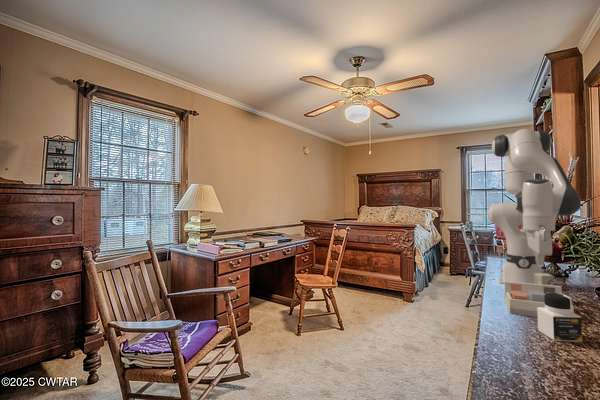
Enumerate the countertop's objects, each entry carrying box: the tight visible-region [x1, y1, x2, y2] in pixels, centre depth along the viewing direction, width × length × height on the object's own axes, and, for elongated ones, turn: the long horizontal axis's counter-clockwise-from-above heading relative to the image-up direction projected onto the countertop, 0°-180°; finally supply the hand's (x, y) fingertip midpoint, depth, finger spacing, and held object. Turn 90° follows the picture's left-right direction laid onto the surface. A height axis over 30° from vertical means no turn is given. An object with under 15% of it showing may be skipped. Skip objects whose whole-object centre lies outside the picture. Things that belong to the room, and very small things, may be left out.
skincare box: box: [534, 272, 555, 286], centre depth 118 cm, size 5×4×10 cm
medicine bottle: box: [537, 293, 583, 343], centre depth 86 cm, size 7×7×12 cm
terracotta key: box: [512, 292, 528, 301], centre depth 106 cm, size 5×4×2 cm
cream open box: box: [503, 281, 575, 318], centre depth 106 cm, size 14×17×8 cm
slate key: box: [529, 290, 545, 302], centre depth 104 cm, size 5×4×2 cm
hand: (540, 264), depth 104 cm, fingers closed
